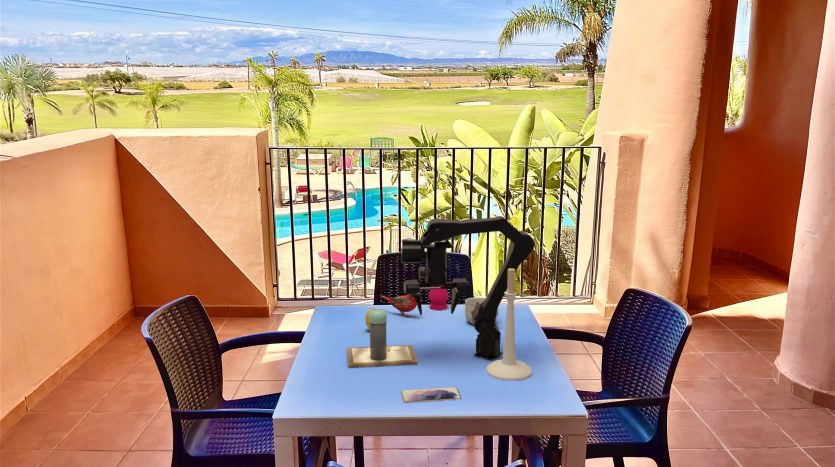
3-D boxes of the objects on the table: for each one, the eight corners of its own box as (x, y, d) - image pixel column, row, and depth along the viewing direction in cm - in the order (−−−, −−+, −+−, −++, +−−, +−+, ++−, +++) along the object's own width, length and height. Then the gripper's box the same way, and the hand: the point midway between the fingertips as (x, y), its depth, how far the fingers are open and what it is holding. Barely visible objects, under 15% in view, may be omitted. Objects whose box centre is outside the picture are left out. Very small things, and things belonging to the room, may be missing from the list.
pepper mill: (448, 305, 249) (449, 253, 245) (447, 311, 242) (448, 257, 238) (429, 304, 249) (429, 252, 246) (428, 310, 242) (428, 257, 239)
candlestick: (496, 383, 178) (498, 274, 173) (479, 365, 191) (481, 263, 185) (539, 377, 182) (543, 271, 176) (520, 361, 194) (523, 260, 188)
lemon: (379, 334, 217) (379, 310, 216) (363, 333, 218) (363, 309, 217) (383, 328, 222) (383, 305, 221) (367, 327, 223) (367, 304, 222)
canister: (390, 358, 193) (389, 311, 191) (375, 362, 190) (375, 314, 188) (380, 353, 197) (380, 307, 195) (366, 357, 194) (365, 310, 192)
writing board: (411, 347, 205) (411, 344, 205) (417, 364, 191) (417, 361, 191) (346, 350, 202) (346, 347, 202) (348, 367, 189) (348, 364, 189)
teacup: (459, 320, 231) (459, 298, 230) (486, 316, 236) (486, 294, 234) (479, 332, 219) (479, 309, 217) (507, 327, 223) (507, 305, 222)
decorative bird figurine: (419, 320, 231) (419, 292, 229) (377, 312, 240) (377, 285, 238) (423, 318, 233) (423, 291, 231) (382, 310, 242) (381, 284, 240)
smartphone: (462, 398, 168) (403, 401, 166) (462, 401, 168) (403, 404, 166) (457, 386, 175) (400, 389, 173) (457, 389, 175) (400, 392, 173)
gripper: (462, 255, 201) (462, 305, 204) (401, 257, 199) (401, 307, 202) (470, 264, 190) (469, 316, 193) (405, 266, 188) (406, 318, 191)
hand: (436, 314), depth 195 cm, fingers open, 9 cm apart
